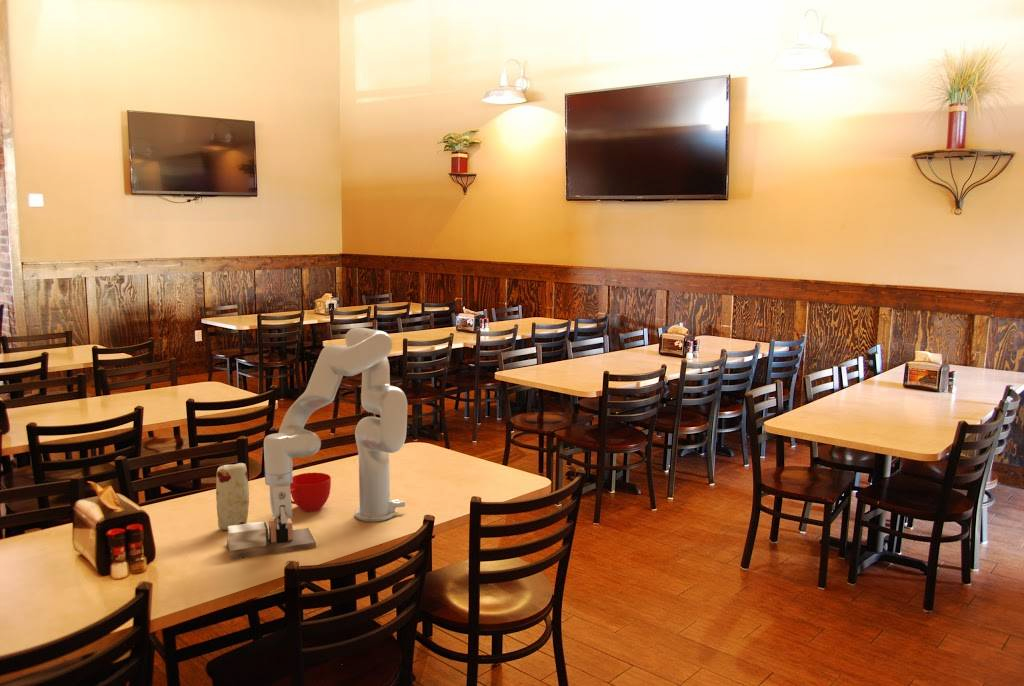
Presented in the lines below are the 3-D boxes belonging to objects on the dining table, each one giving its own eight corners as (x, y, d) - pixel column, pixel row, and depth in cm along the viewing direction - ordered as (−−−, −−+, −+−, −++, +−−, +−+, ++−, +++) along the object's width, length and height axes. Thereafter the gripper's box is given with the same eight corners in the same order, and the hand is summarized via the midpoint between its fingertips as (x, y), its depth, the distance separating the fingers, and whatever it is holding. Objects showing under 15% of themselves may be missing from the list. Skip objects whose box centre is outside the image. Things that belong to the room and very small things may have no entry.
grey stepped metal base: (308, 532, 242) (307, 511, 241) (315, 547, 231) (315, 525, 230) (227, 544, 233) (226, 522, 232) (230, 560, 222) (229, 537, 221)
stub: (290, 534, 236) (290, 518, 235) (292, 539, 232) (292, 522, 232) (269, 537, 234) (268, 521, 233) (271, 542, 230) (270, 525, 229)
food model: (222, 534, 240) (219, 469, 237) (213, 528, 245) (210, 464, 242) (254, 526, 247) (251, 462, 244) (244, 520, 252) (241, 458, 249)
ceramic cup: (272, 514, 257) (271, 484, 256) (309, 499, 272) (308, 470, 270) (304, 521, 251) (303, 490, 250) (339, 505, 266) (339, 476, 264)
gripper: (297, 484, 224) (299, 547, 227) (288, 467, 239) (289, 527, 242) (269, 487, 221) (271, 551, 224) (261, 470, 236) (263, 530, 239)
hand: (281, 538), depth 233 cm, fingers closed on stub, 4 cm apart
